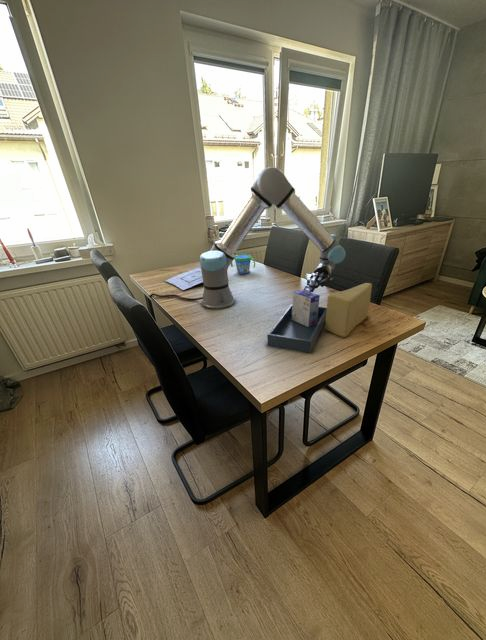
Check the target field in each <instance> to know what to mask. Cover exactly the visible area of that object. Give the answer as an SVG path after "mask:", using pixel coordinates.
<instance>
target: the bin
mask: <svg viewBox="0 0 486 640" xmlns="http://www.w3.org/2000/svg"><path fill="white" fill-rule="evenodd" d="M326 310H327V307H323V306H319V308H318V319H317V324H315V325H312V326H310V327H307V326H305V325H303V324H300V323H298V322H296V321H294V320H292V303H291V304H290V305H289V306H288V307H287V309H286V310H285V311H284V312H283V314H282V315H281V316H280V318H279V319H278V320H277V321H276V323H275V324H274V325H273V327H272V328H271V329H270V331H269V332H268V333H267V334H266V335H267V346H269V347H274V348H280V349H285V350H292V351H296V352H302V353H308V354H311V352H312V350H313V348H314V345H316V341H317V340H318V337H319V335H320V333H321V331H322V329H323V326H324V324H326Z"/></svg>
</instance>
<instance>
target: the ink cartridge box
mask: <svg viewBox="0 0 486 640" xmlns="http://www.w3.org/2000/svg"><path fill="white" fill-rule="evenodd" d="M309 289H310V291H309ZM311 291H312V288H311V287H309V286H308V285H305V286H304V287H303V289H299V290H296V291H293V292H292V302H291V304H292V320H294V321H296V322H298V323H300V324H303V325H305V326H307V327H310V326H312V325H315V324H317V319H318V308H319V307H320V306H319V305H320V297H321V295H320V294H317V293H314V292H311Z"/></svg>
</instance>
